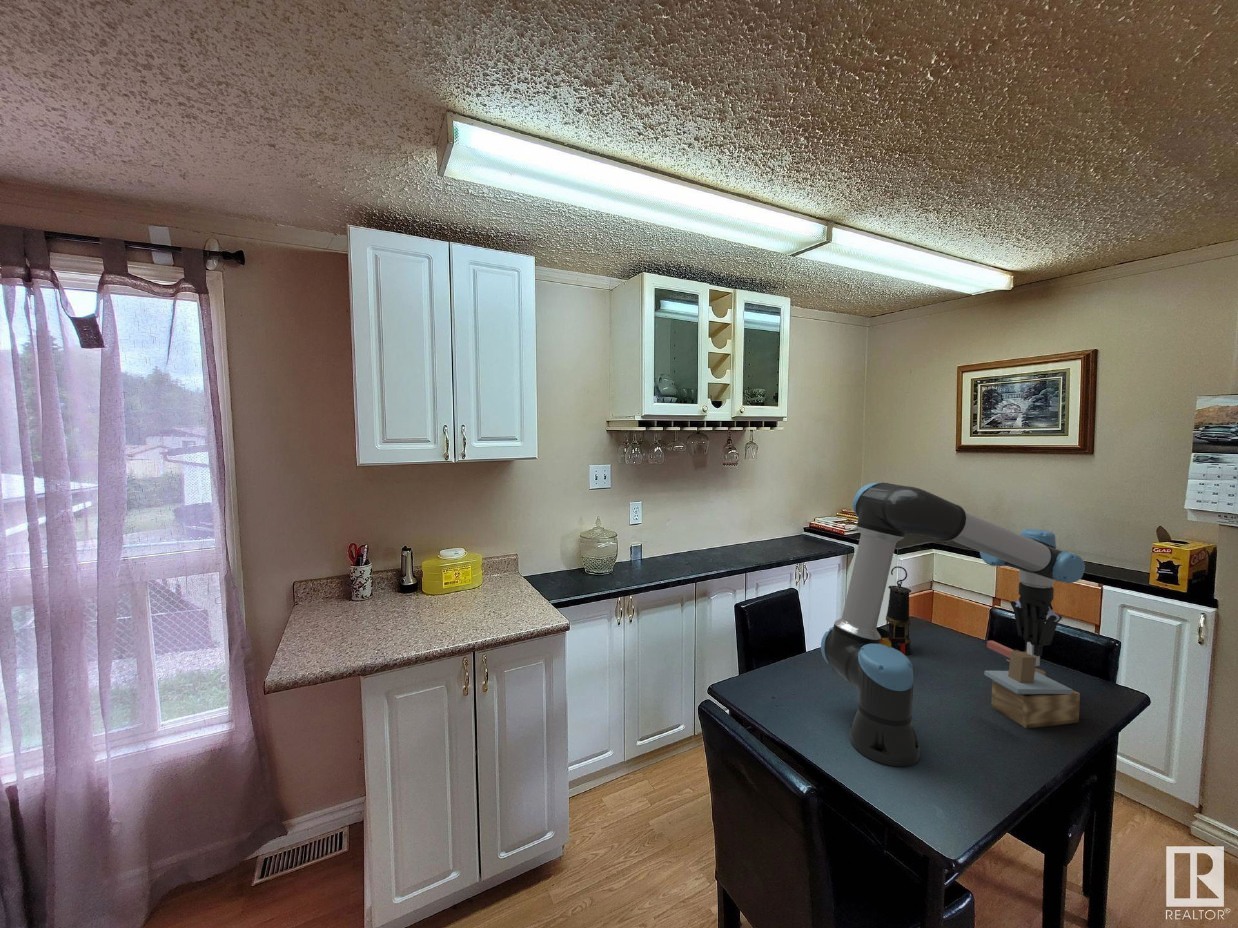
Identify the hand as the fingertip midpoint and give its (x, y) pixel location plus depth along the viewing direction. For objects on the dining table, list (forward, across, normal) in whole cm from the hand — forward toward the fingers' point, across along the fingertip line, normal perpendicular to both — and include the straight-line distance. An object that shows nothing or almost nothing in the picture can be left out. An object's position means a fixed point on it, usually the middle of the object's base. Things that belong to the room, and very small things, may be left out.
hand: (1032, 664), depth 138 cm
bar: (+1, +7, 0) cm, 7 cm away
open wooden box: (+10, -6, +6) cm, 14 cm away
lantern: (+11, +36, +15) cm, 40 cm away
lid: (+2, -6, +9) cm, 11 cm away
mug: (+11, +26, +30) cm, 41 cm away
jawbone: (+11, +11, -10) cm, 19 cm away
